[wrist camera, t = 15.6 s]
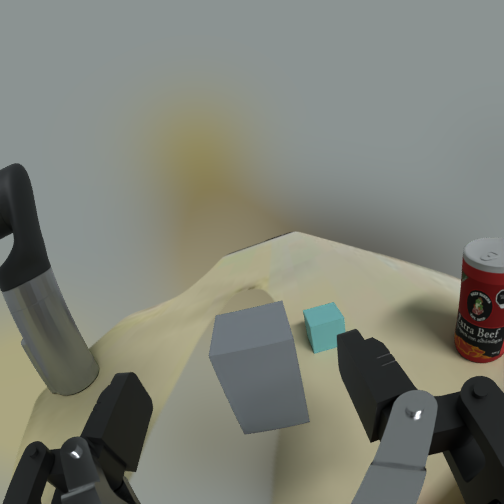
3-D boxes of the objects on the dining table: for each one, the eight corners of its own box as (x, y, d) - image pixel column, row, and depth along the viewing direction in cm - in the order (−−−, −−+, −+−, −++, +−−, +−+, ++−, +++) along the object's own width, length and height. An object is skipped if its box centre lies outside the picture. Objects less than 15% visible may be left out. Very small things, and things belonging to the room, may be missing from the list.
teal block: (346, 344, 30) (344, 317, 29) (314, 354, 30) (310, 327, 29) (336, 328, 34) (333, 302, 33) (307, 336, 34) (302, 310, 33)
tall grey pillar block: (309, 421, 20) (293, 338, 18) (244, 434, 21) (208, 356, 18) (299, 380, 26) (282, 300, 24) (244, 391, 26) (215, 315, 24)
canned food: (441, 347, 23) (450, 254, 20) (472, 315, 25) (480, 232, 22) (491, 375, 16) (517, 274, 13) (517, 334, 18) (534, 244, 15)
